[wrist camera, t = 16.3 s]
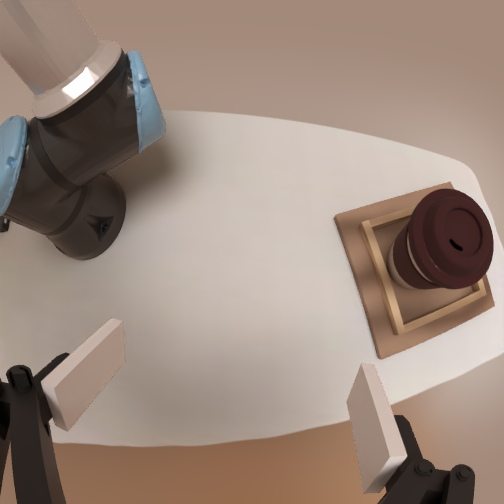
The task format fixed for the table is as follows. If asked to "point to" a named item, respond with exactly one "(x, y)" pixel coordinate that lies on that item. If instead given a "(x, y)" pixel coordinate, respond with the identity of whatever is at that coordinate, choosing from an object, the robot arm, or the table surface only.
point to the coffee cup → (442, 243)
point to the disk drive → (4, 224)
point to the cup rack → (392, 294)
